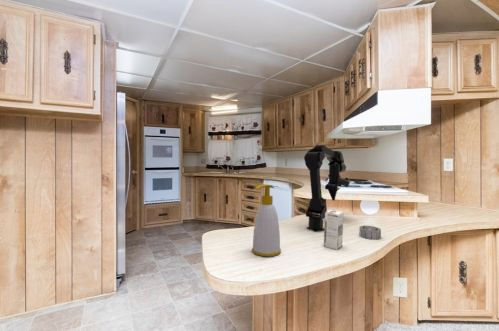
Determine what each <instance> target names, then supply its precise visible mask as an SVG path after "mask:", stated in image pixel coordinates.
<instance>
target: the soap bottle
mask: <svg viewBox="0 0 499 331" xmlns="http://www.w3.org/2000/svg"><path fill="white" fill-rule="evenodd" d="M262 188H264V195H261V202H260V203H261V204H259V206H258V208H257V209H258V210H257V211H256V215H255V220H254V228H253V235H252V236H253V237H252V238H253V241H252V249H251V250H252V252H253V253H254V254H255V255H256V256H260V257H275V256H277V255H279V254H281V251H282V250H281V237H280V226H279V217H278V212H277V209H276V207H275V205H274V203H273V202H274V201H273V200H274V199H273V197H274V196H272V195H271V194H270V191H271V190H270V188H272V189H275V186H274V185H271V184H264V183H263V184H259V185H257V186H256V187H255V191H259V190H261V189H262Z"/></svg>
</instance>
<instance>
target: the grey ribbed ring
mask: <svg viewBox="0 0 499 331" xmlns="http://www.w3.org/2000/svg"><path fill="white" fill-rule="evenodd" d="M364 227H374V228H376V231H373V230H366V229H364ZM358 231H359V237H361V238H363V239H365V240H366V239H367V240H374V241H375V240H376V241H377V240H381V238H382V228H379V227H378V226H372V225H360V226H359V230H358Z"/></svg>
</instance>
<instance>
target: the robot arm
mask: <svg viewBox="0 0 499 331" xmlns="http://www.w3.org/2000/svg"><path fill="white" fill-rule="evenodd" d="M325 158H326V160H327V161H328V162H329V163H328V164H327V165H328V175H327V177H328V182H327V183H326V184H325V185H324V187H325V188H324V189H325V190H328V193H329V196H330V197H331V200H332V201H335V200H336V197H337V193H338V191H339V190H340V189H341V187H342V186H344V187H345V188H348V187H350V184H351V180H349V177H345V178H343V177H342V176H341V174H340V173H344V172H345V171H346V169H347V166H346V164H345V160H344V156H343V153H342V151H341V150H340V151H339V150H332V149H331V148H329V147H328V146H326V145H324V144H317V145H315V146H314V147H312V148H311V149H309V150H307V152H306V153H305V155H304V157H303V160H304V163H305V164H304V165H305V166H306V168H307V169H308V171H309V180H310V181H309V182H310V193H311V199H310V200H309V202H308V207H307V209H306V211H305V216H306V218H308V226H307V227H306V229H307V230H310V231H312V232H320V231H324V229H325V228H324V220H325V212H328V210H327V209H328V207H327V199H326V198H324V197H323V196H322V195H323V194H322V185H321V184H322V183H321V172H320V171H321V170H320V169H321V167H322V166H323V162H324V161H323V160H325Z"/></svg>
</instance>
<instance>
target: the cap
mask: <svg viewBox="0 0 499 331" xmlns="http://www.w3.org/2000/svg"><path fill="white" fill-rule="evenodd" d="M374 227H375V226H374ZM374 227H364V229H366V230H373V231H376V228H374Z"/></svg>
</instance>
